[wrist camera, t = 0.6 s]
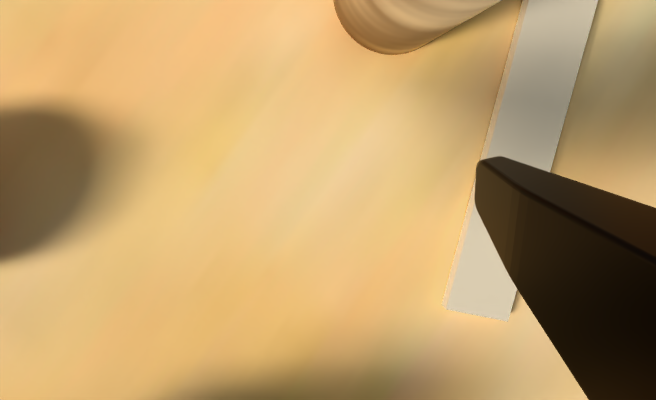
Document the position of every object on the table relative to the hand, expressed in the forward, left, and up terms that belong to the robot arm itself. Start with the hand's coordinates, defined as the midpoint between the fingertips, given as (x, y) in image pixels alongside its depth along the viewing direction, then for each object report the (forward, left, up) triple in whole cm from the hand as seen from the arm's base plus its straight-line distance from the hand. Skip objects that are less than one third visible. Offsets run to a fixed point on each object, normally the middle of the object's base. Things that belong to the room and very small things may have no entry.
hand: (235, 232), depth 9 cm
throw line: (-5, -11, -12) cm, 17 cm away
